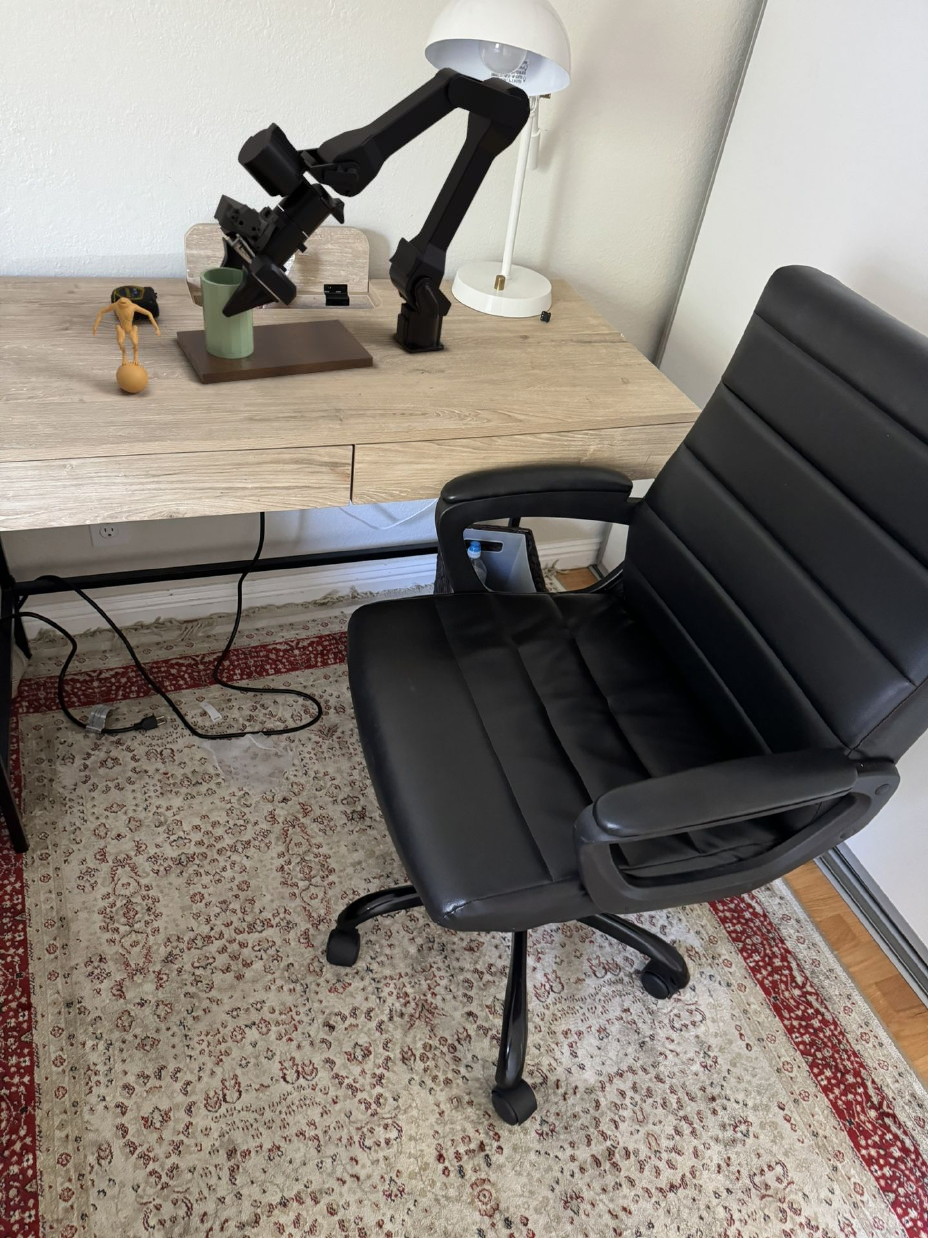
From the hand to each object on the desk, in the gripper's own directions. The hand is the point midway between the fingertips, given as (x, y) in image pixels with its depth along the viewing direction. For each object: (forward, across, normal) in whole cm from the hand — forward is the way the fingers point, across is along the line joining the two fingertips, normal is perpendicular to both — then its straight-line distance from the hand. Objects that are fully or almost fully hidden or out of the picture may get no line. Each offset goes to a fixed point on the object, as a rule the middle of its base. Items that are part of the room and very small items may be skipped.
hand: (217, 304), depth 114 cm
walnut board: (0, 0, +12) cm, 12 cm away
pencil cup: (+4, 0, +6) cm, 7 cm away
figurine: (+15, +6, -4) cm, 17 cm away
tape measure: (+12, -17, 0) cm, 20 cm away
